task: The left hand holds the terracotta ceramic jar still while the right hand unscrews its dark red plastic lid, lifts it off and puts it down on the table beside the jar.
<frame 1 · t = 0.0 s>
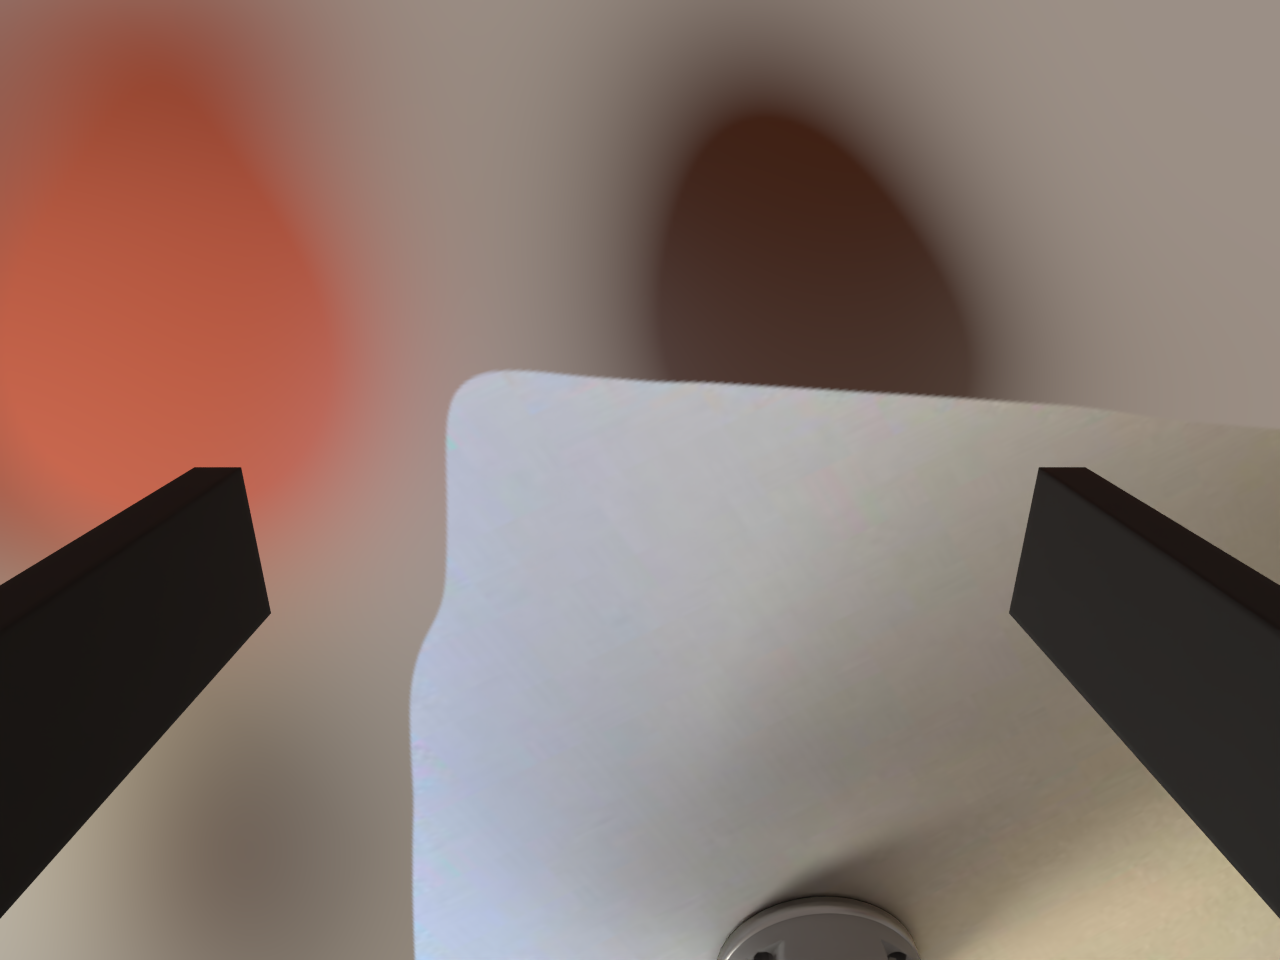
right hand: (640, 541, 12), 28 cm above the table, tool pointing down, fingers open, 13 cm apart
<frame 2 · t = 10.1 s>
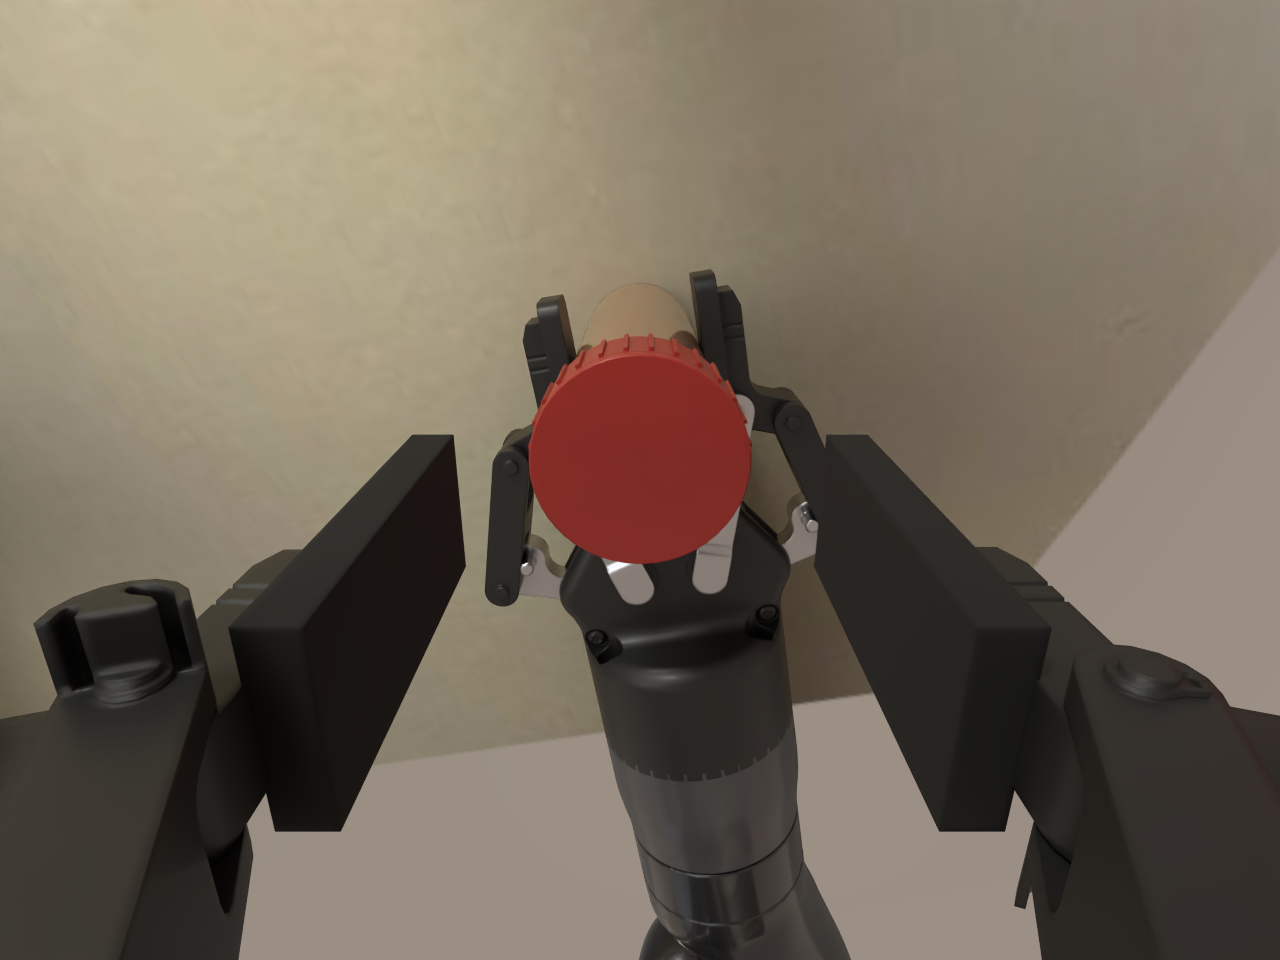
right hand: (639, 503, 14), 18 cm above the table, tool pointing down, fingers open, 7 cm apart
left hand: (624, 288, 24), fingers closed on jar, 4 cm apart
jar: (639, 336, 31), on the table, touching left hand
lid: (640, 459, 16), point 16 cm above the table, screwed on, not yet turned
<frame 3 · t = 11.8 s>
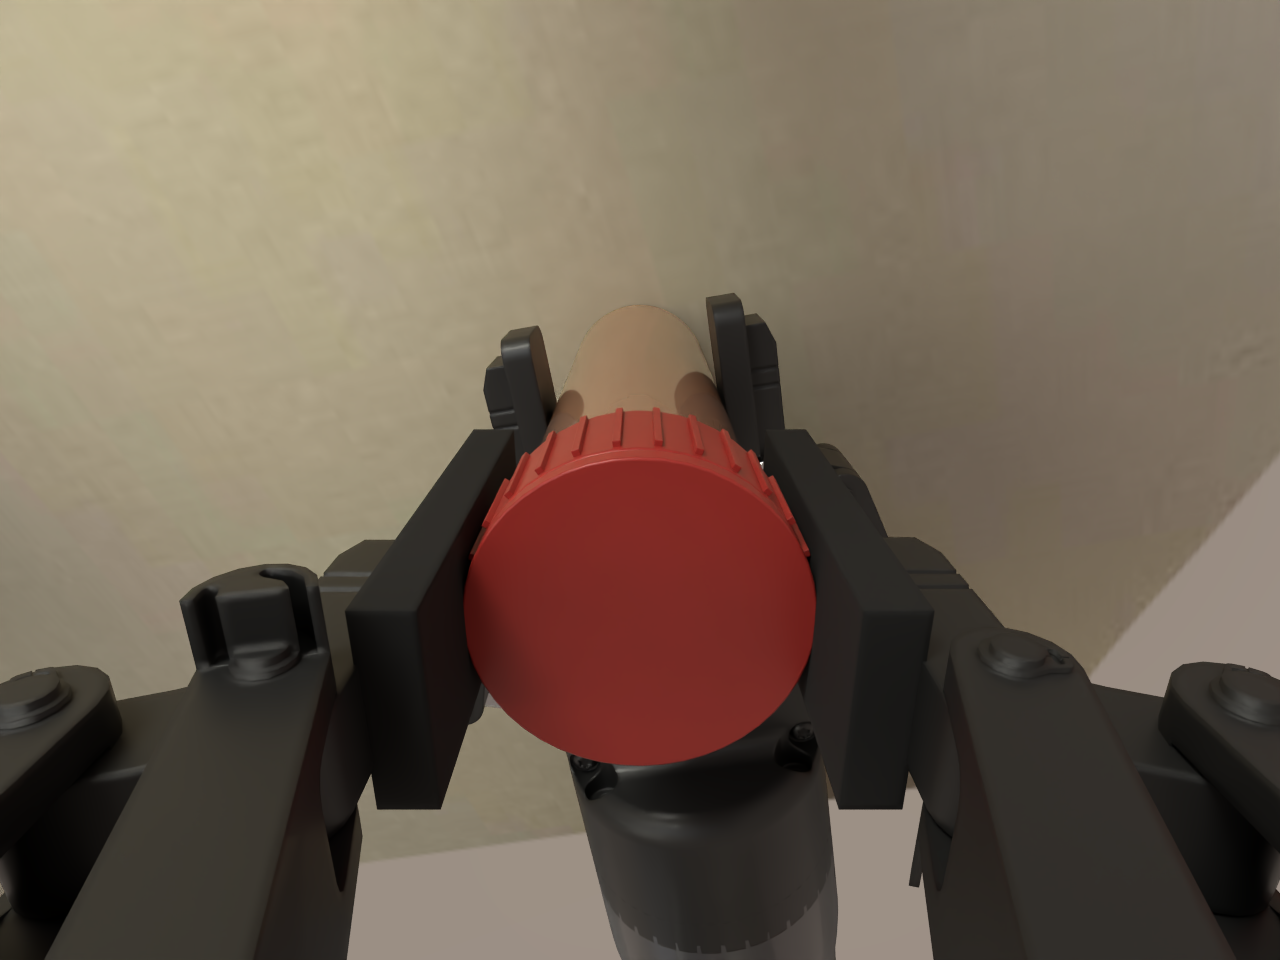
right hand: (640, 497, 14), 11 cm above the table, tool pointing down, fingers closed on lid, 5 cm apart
left hand: (620, 319, 18), fingers closed on jar, 4 cm apart
jar: (639, 369, 25), on the table, touching left hand
lid: (639, 612, 10), point 16 cm above the table, screwed on, not yet turned, touching right hand
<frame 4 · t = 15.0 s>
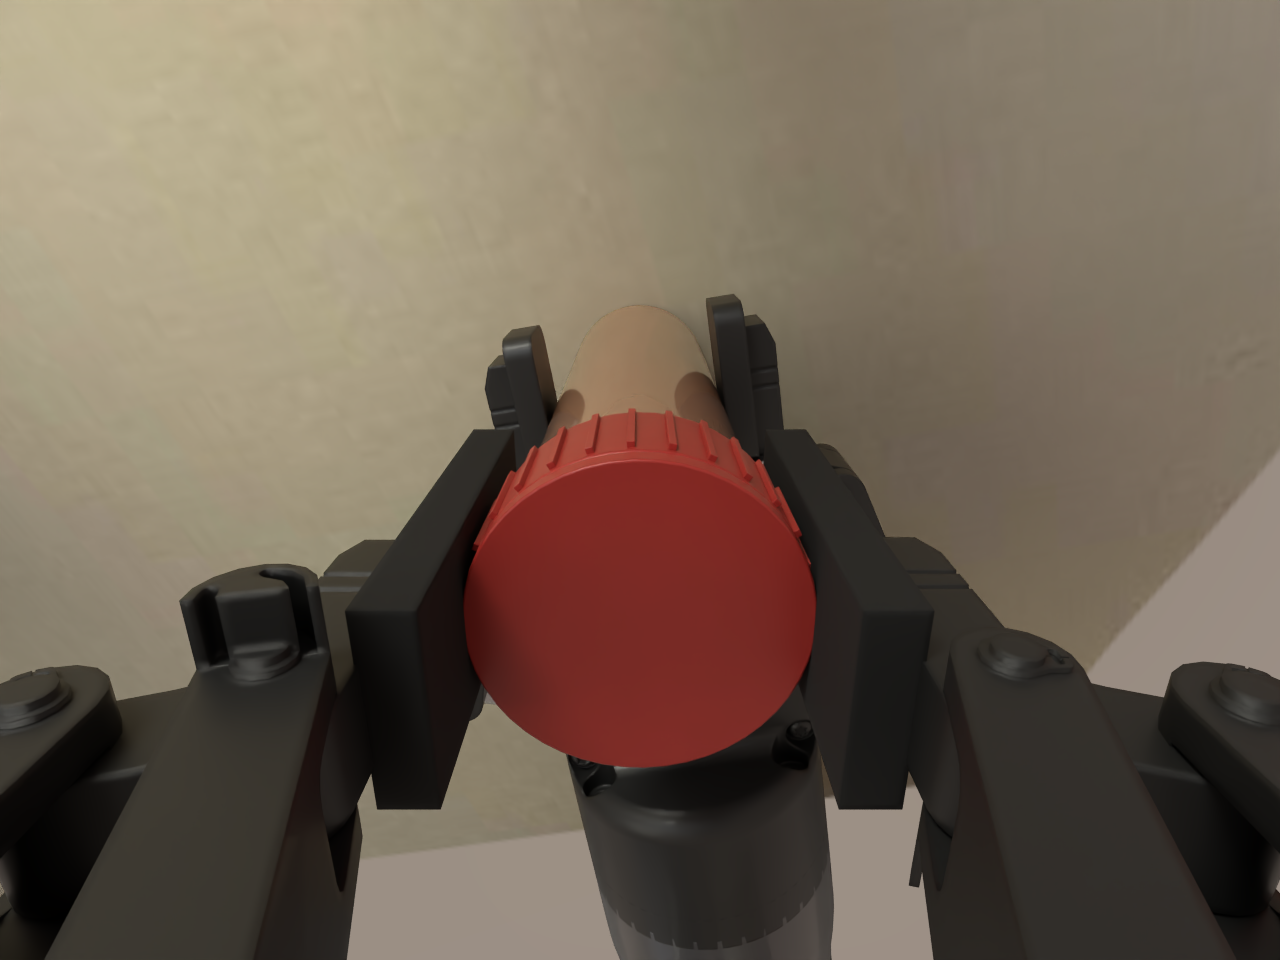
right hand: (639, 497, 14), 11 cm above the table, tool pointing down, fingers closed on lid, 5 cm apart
left hand: (620, 319, 18), fingers closed on jar, 4 cm apart
jar: (639, 369, 25), on the table, touching left hand
lid: (639, 613, 10), point 16 cm above the table, turned 99° so far, risen 0.2 cm, still on its thread, touching right hand
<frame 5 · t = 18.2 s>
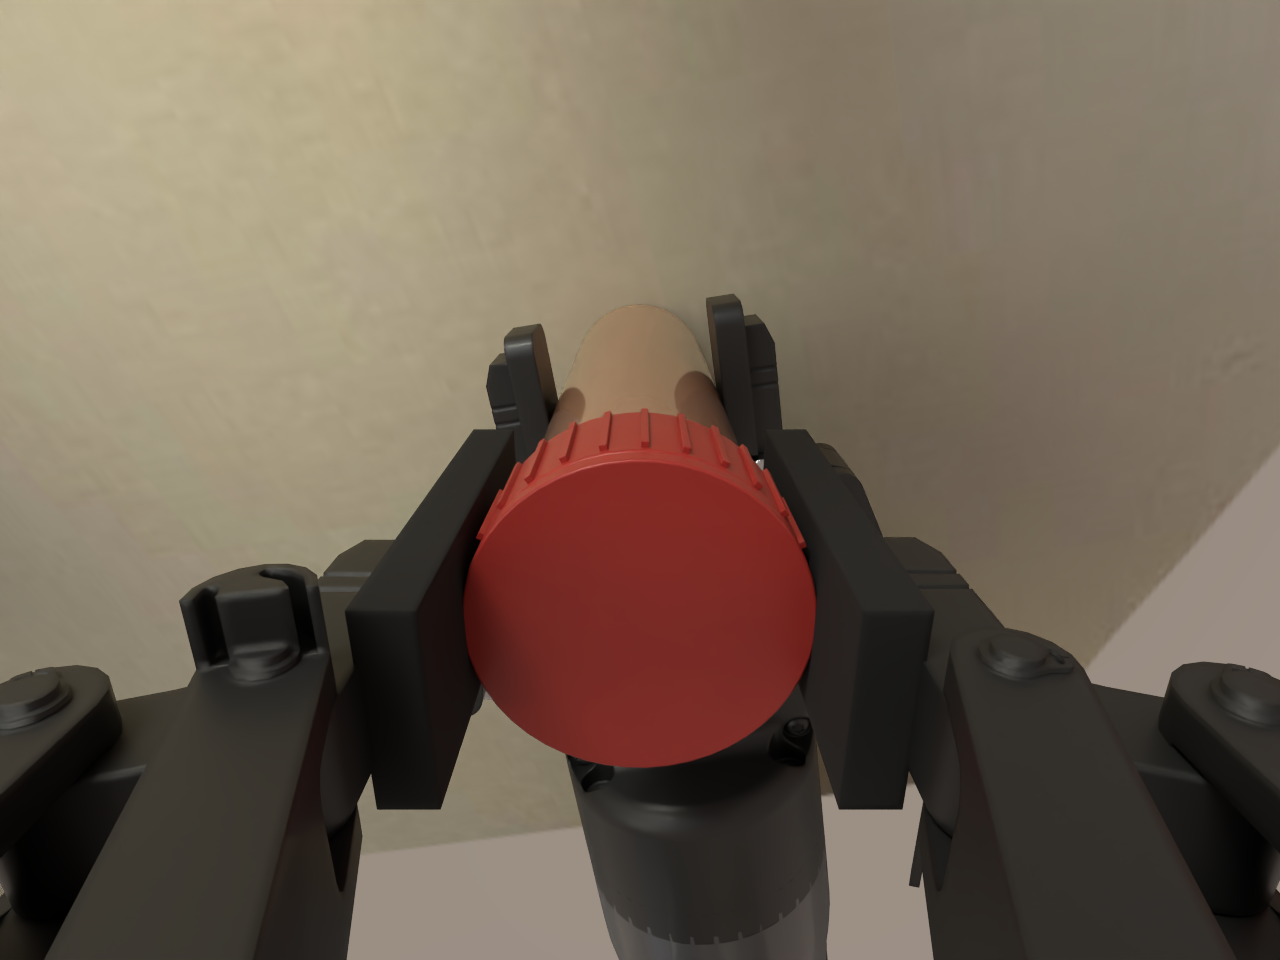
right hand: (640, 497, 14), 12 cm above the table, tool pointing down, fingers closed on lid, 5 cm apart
jar: (639, 368, 25), on the table, touching left hand
lid: (639, 614, 10), point 16 cm above the table, turned 198° so far, risen 0.3 cm, still on its thread, touching right hand
when the right hand's fingers open (0 cm above the table, at t = 27.3 s): lid drops 2 cm, point 2 cm above the table.
when the left hand's fingers open (7 cm above the table, at t = 28.5 s): jar stays where it is, on the table.
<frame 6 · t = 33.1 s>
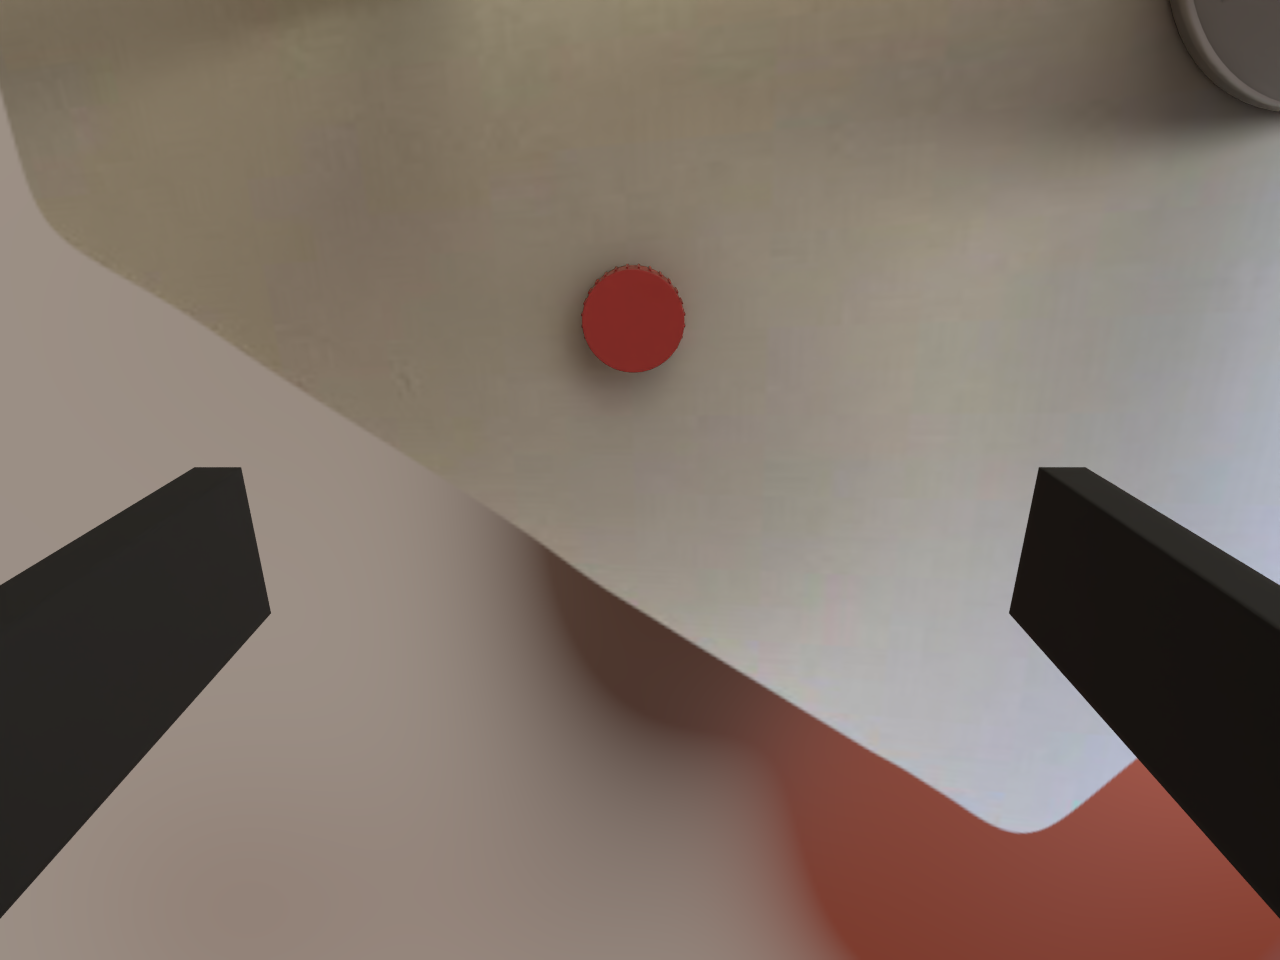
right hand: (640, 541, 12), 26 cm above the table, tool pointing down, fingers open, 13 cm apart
lid: (633, 321, 35), point 2 cm above the table, off its thread
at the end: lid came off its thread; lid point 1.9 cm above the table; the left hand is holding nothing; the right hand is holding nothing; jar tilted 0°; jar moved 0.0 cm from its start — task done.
